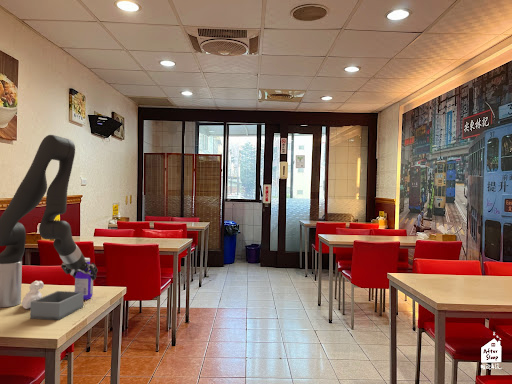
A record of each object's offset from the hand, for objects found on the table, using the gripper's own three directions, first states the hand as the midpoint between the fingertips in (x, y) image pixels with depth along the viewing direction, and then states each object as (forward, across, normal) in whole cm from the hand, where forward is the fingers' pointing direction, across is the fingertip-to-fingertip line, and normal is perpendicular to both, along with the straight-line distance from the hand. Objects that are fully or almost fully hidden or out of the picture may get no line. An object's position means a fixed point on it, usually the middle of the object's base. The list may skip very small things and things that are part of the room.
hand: (86, 278), depth 165 cm
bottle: (+5, 0, +7) cm, 9 cm away
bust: (-5, +14, +17) cm, 22 cm away
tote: (-9, -1, +21) cm, 23 cm away
